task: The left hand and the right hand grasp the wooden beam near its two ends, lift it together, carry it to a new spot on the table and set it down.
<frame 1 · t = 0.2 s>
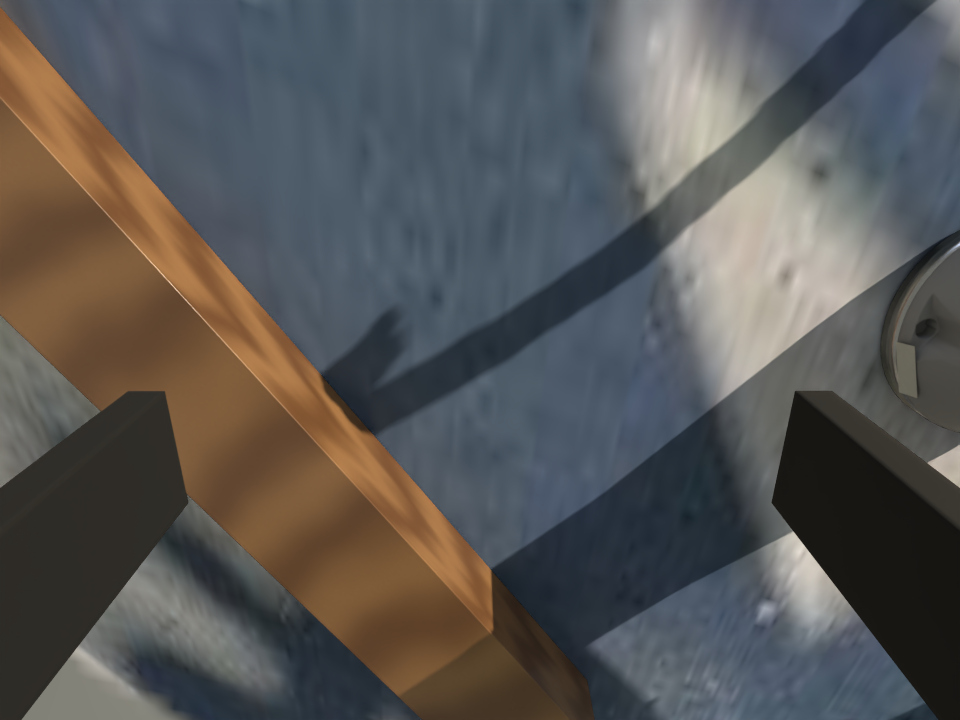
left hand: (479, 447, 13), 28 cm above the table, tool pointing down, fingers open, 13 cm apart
wooden beam: (276, 412, 43), on the table
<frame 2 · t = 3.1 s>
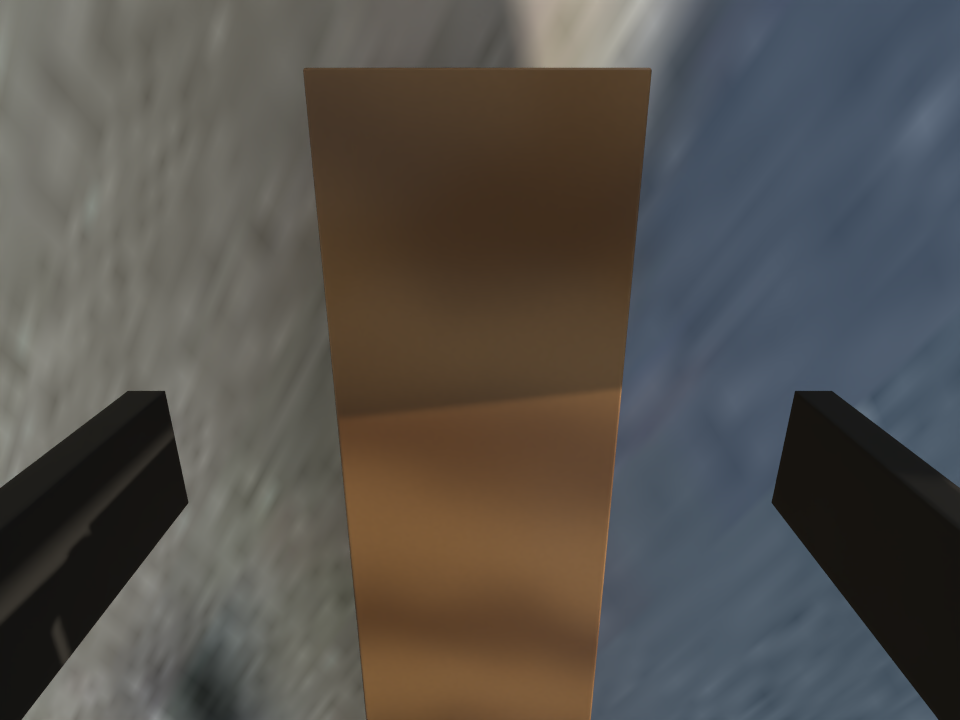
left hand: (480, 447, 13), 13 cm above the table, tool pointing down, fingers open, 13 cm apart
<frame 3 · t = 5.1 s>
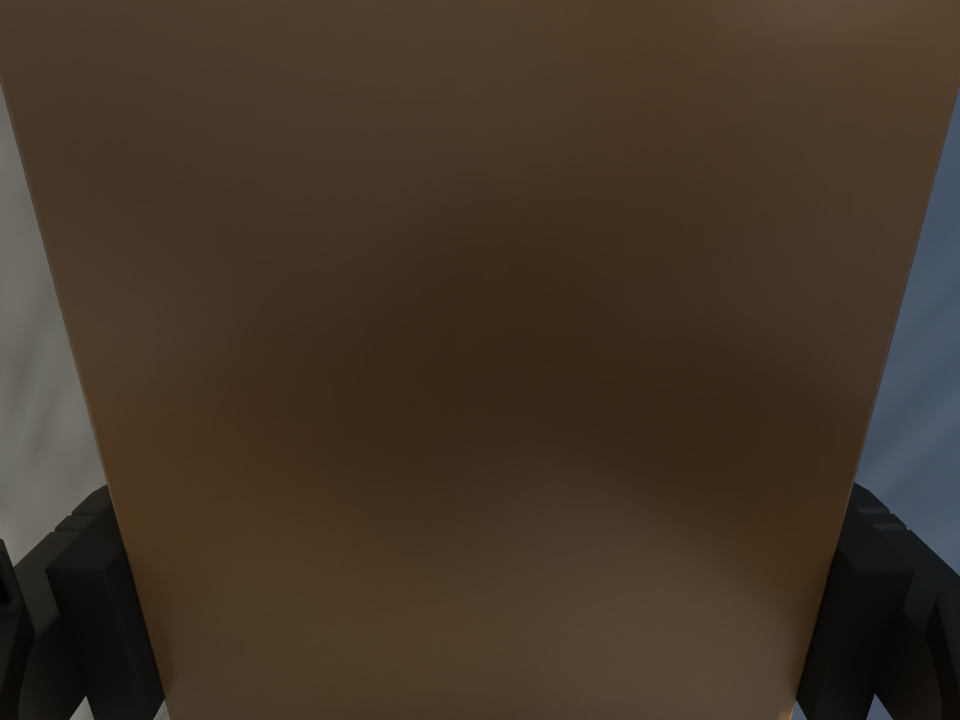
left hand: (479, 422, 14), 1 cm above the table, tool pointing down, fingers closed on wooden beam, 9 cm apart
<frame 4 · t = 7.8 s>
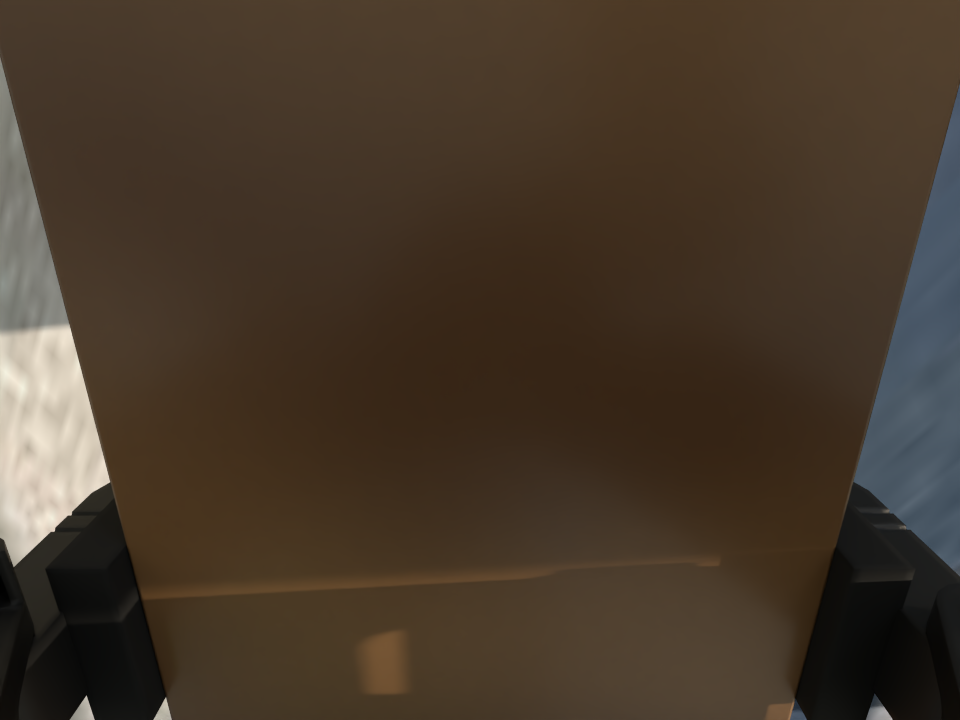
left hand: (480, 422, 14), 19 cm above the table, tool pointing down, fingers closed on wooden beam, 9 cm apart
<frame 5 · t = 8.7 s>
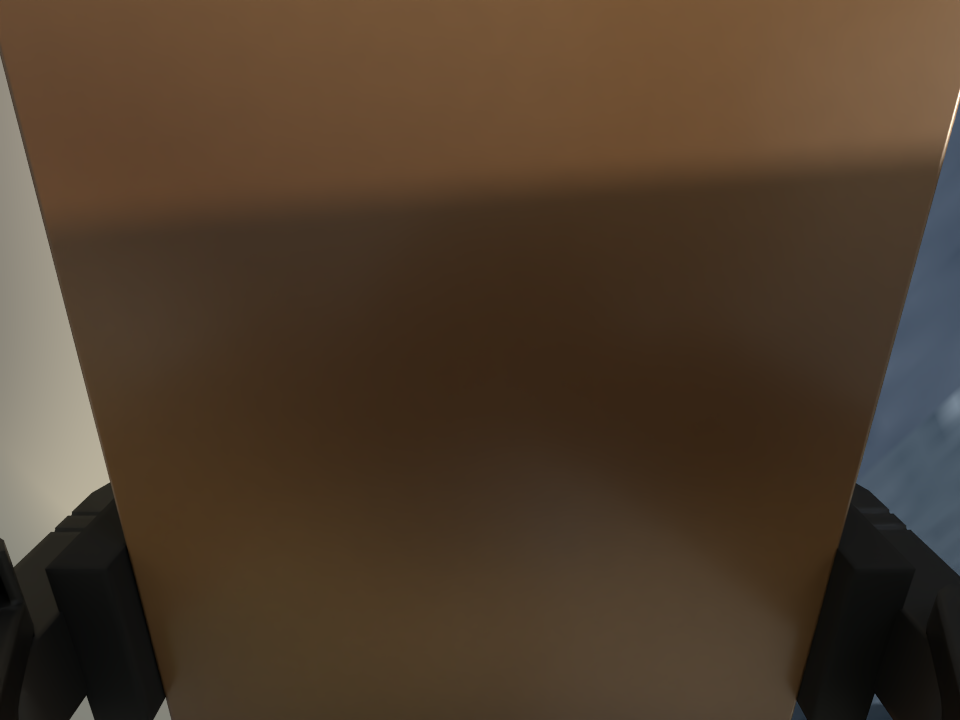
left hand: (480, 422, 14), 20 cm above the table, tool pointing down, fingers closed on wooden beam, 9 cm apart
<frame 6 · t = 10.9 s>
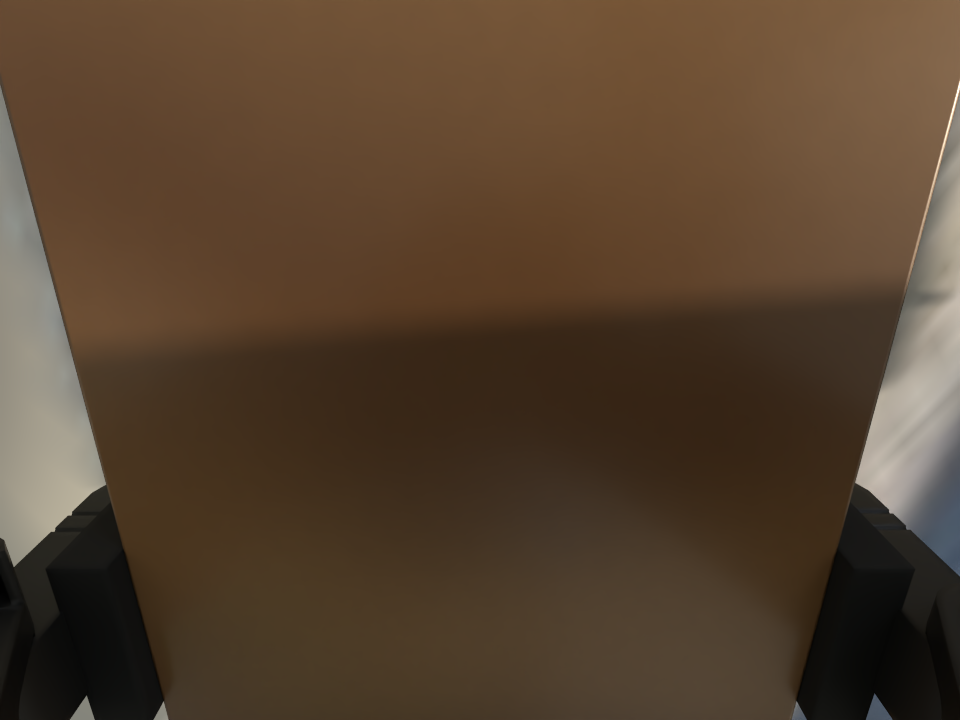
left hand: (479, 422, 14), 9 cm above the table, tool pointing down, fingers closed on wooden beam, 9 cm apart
when the left hand's fingers open (2 cm above the table, at t = 12.5 s): wooden beam drops 1 cm, on the table.
when the right hand's fingers open (2 cm above the table, at t = 12.5 s): wooden beam drops 1 cm, on the table.
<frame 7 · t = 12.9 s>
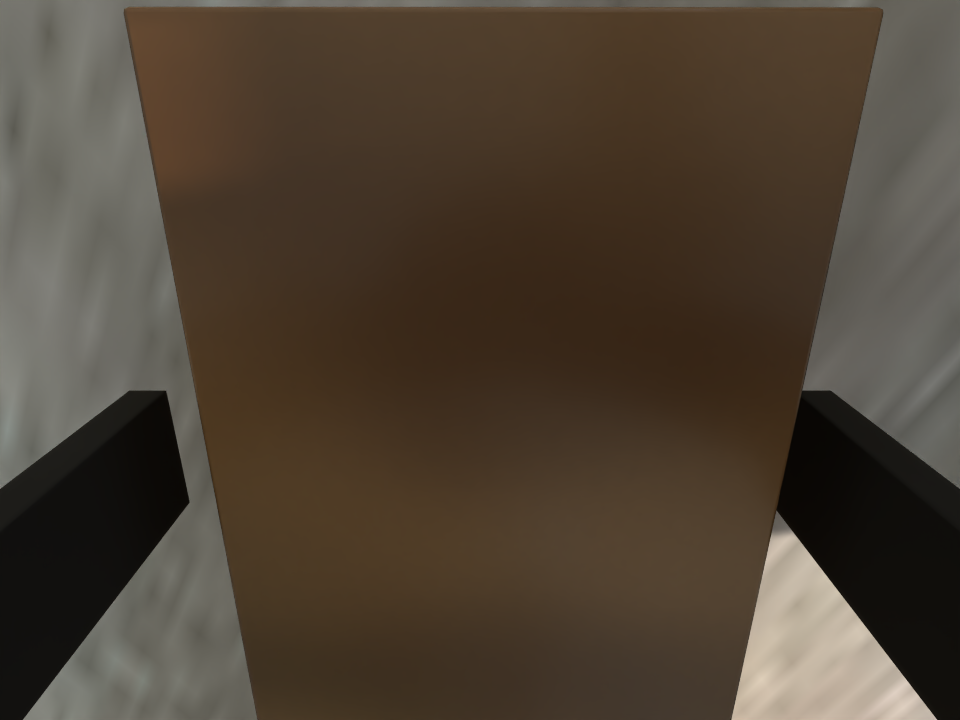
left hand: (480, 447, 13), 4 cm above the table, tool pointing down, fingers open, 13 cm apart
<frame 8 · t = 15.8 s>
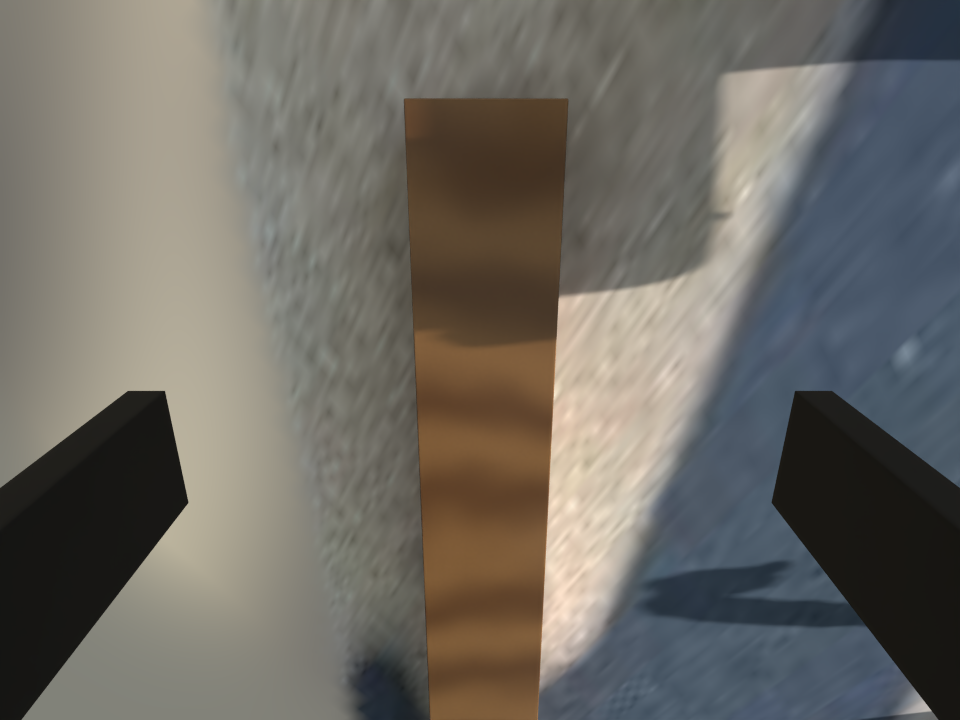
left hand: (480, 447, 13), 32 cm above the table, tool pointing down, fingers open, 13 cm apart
wooden beam: (483, 542, 53), on the table
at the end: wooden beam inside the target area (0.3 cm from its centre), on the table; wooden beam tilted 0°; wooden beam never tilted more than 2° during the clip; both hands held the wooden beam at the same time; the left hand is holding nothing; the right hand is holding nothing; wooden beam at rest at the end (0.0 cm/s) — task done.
